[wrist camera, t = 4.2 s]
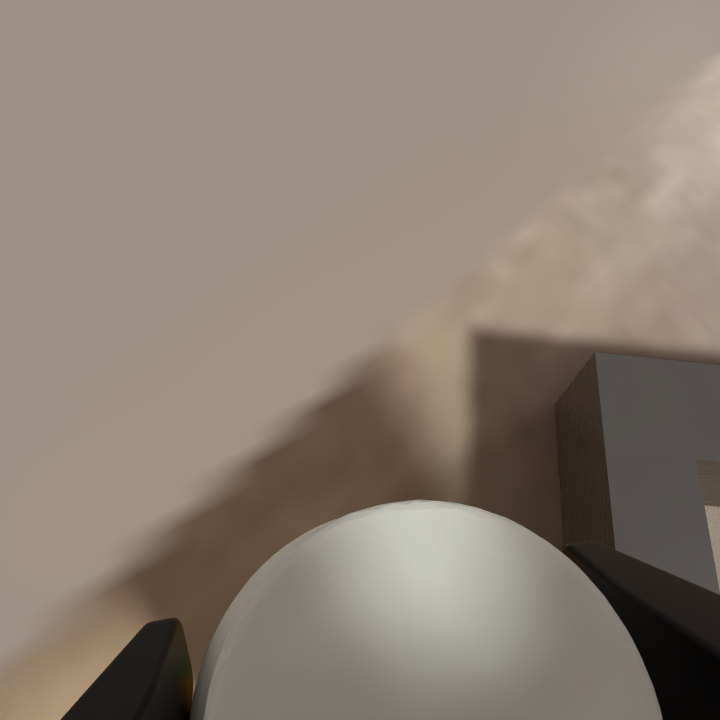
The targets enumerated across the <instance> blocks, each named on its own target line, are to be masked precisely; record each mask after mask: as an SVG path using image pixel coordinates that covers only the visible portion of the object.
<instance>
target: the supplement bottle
mask: <svg viewBox="0 0 720 720" xmlns="http://www.w3.org/2000/svg"><path fill="white" fill-rule="evenodd" d="M190 720H663V718H662V714H661V710H660V706H659V703H658V700H657V697H656V694H655V690H654V687H653V684H652V682H651V680H650V677H649V675H648V672H647V670H646V667H645V665H644V662H643V660H642V658H641V656H640V654H639V651H638V649H637V647H636V645H635V643H634V641H633V639H632V638H631V636H630V634H629V632H628V630H627V629H626V627H625V626H624V624H623V623H622V621H621V620H620V618H619V617H618V615H617V614H616V612H615V611H614V609H613V608H612V606H611V605H610V603H609V602H608V601H607V599H606V598H605V596H604V595H603V594H602V593H601V592H600V590H599V589H598V588H597V587H596V586H595V585H594V584H593V582H592V581H591V580H590V579H589V578H588V577H587V576H586V574H585V573H584V572H583V571H582V570H581V569H580V568H579V567H578V566H577V565H576V564H575V563H574V562H572V561H571V560H570V559H569V558H568V557H567V556H566V555H564V554H563V553H562V552H560V551H559V550H558V549H557V548H555V547H554V546H553V545H552V544H550V543H549V542H548V541H546V540H544V539H543V538H541V537H539V536H538V535H536V534H535V533H533V532H532V531H530V530H529V529H527V528H525V527H523V526H521V525H519V524H517V523H516V522H514V521H512V520H510V519H508V518H505V517H503V516H500V515H497V514H494V513H491V512H489V511H486V510H483V509H480V508H477V507H473V506H469V505H465V504H460V503H455V502H445V501H432V500H422V499H417V500H410V501H402V502H392V503H386V504H380V505H376V506H373V507H369V508H365V509H362V510H359V511H356V512H352V513H349V514H346V515H344V516H342V517H340V518H337V519H334V520H331V521H329V522H326V523H324V524H322V525H319V526H317V527H315V528H313V529H311V530H309V531H308V532H306V533H304V534H303V535H301V536H299V537H298V538H296V539H295V540H293V541H291V542H290V543H288V544H287V545H285V546H284V547H283V548H282V549H280V550H279V551H278V552H276V553H275V554H274V555H273V556H272V557H271V558H270V559H268V560H267V561H266V562H265V563H264V564H263V565H262V566H261V567H260V568H259V569H258V570H257V571H256V572H255V573H254V574H253V576H252V577H251V578H250V579H249V580H248V581H247V583H246V584H245V585H244V587H243V588H242V589H241V591H240V592H239V593H238V595H237V596H236V597H235V598H234V600H233V601H232V603H231V605H230V606H229V608H228V609H227V611H226V613H225V615H224V616H223V618H222V620H221V622H220V623H219V625H218V627H217V629H216V631H215V633H214V635H213V638H212V640H211V642H210V644H209V647H208V649H207V651H206V654H205V657H204V660H203V664H202V667H201V670H200V673H199V676H198V680H197V683H196V687H195V691H194V696H193V702H192V707H191V714H190Z"/></svg>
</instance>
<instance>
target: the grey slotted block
mask: <svg viewBox="0 0 720 720" xmlns="http://www.w3.org/2000/svg"><path fill="white" fill-rule="evenodd" d="M555 406H556V421H557V437H558V453H559V468H560V484H561V500H562V515H563V531H564V546H565V545H566V544H570V543H575V542H581V541H586V540H593V541H596V542H598V543H601V544H603V545H605V546H608V547H610V548H612V549H615V550H617V551H619V552H622V553H624V554H626V555H629V556H631V557H633V558H636V559H638V560H640V561H643V562H645V563H647V564H650V565H652V566H654V567H657V568H659V569H661V570H664V571H666V572H668V573H671V574H673V575H675V576H678V577H680V578H682V579H685V580H687V581H689V582H692V583H694V584H696V585H699V586H701V587H703V588H706V589H708V590H710V591H713V592H715V593H717V594H720V591H719V586H718V580H717V575H716V569H715V563H714V558H713V552H712V547H711V541H710V535H709V530H708V524H707V519H706V513H705V507H704V505H710V506H720V365H716V364H706V363H696V362H687V361H677V360H667V359H657V358H648V357H638V356H628V355H618V354H609V353H599V352H595V353H594V354H593V355H592V357H591V358H590V359H589V361H588V362H587V363H586V365H585V366H584V367H583V369H582V370H581V371H580V372H579V374H578V375H577V376H576V378H575V379H574V380H573V382H572V383H571V384H570V386H569V387H568V388H567V389H566V391H565V392H564V393H563V395H562V396H561V397H560V399H559V400H558V401H557V403H556V404H555Z"/></svg>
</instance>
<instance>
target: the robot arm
mask: <svg viewBox="0 0 720 720" xmlns="http://www.w3.org/2000/svg"><path fill="white" fill-rule="evenodd" d="M562 553H563V554H564V555H566V556H567V557H568V558H569V559H570V560H571V561H572V562H574V563H575V564H576V565H577V566H578V567H579V568H580V569H581V570H582V571H583V572H584V573H585V574H586V576H587V577H588V578H589V579H590V580H591V581H592V582H593V584H594V585H595V586H596V587H597V588H598V589H599V590H600V592H601V593H602V594H603V595H604V596H605V598H606V599H607V601H608V602H609V603H610V605H611V606H612V608H613V609H614V611H615V612H616V614H617V615H618V617H619V618H620V620H621V621H622V623H623V624H624V626H625V627H626V629H627V630H628V632H629V634H630V636H631V638H632V639H633V641H634V643H635V645H636V647H637V649H638V651H639V654H640V656H641V658H642V660H643V662H644V665H645V667H646V670H647V672H648V675H649V677H650V680H651V682H652V684H653V687H654V690H655V694H656V697H657V700H658V703H659V706H660V710H661V714H662V718H663V720H720V594H717V593H715V592H713V591H710V590H708V589H706V588H703V587H701V586H699V585H696V584H694V583H692V582H689V581H687V580H685V579H682V578H680V577H678V576H675V575H673V574H671V573H668V572H666V571H664V570H661V569H659V568H657V567H654V566H652V565H650V564H647V563H645V562H643V561H640V560H638V559H636V558H633V557H631V556H629V555H626V554H624V553H622V552H619V551H617V550H615V549H612V548H610V547H608V546H605V545H603V544H601V543H598V542H596V541H593V540H586V541H581V542H575V543H570V544H566V545H565V546H564V548H563V550H562ZM192 698H193V675H192V667H191V662H190V658H189V654H188V649H187V645H186V640H185V636H184V631H183V627H182V624H181V622H180V620H179V619H177V618H169V619H164V620H158V621H153V622H149V623H147V624H146V625H145V626H144V627H143V628H142V629H141V630H140V631H139V632H138V633H137V634H136V635H135V637H134V638H133V639H132V640H131V641H130V642H129V643H128V644H127V646H126V647H125V648H124V649H123V650H122V651H121V652H120V653H119V655H118V656H117V657H116V658H115V659H114V660H113V661H112V662H111V664H110V665H109V666H108V667H107V668H106V669H105V670H104V671H103V673H102V674H101V675H100V676H99V677H98V678H97V679H96V680H95V682H94V683H93V684H92V685H91V686H90V687H89V688H88V689H87V691H86V692H85V693H84V694H83V695H82V696H81V697H80V698H79V700H78V701H77V702H76V703H75V704H74V705H73V706H72V707H71V709H70V710H69V711H68V712H67V713H66V714H65V715H64V716H63V718H62V719H61V720H190V714H191V707H192Z"/></svg>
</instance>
